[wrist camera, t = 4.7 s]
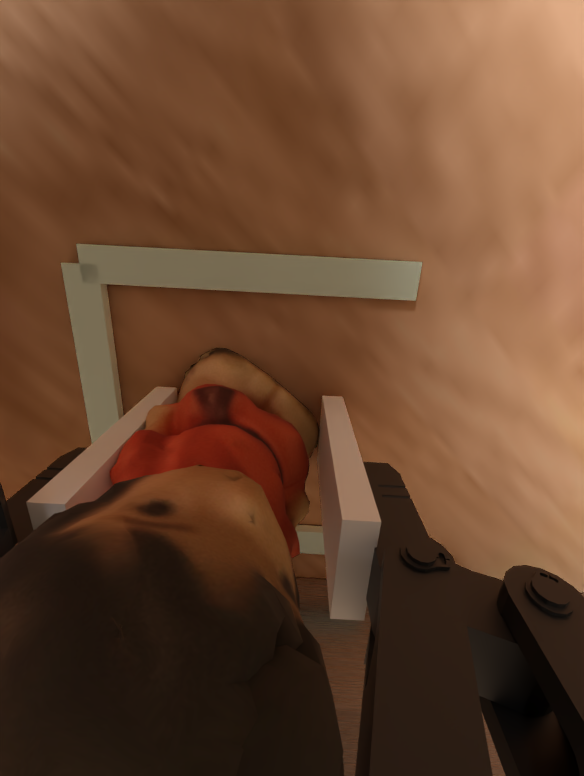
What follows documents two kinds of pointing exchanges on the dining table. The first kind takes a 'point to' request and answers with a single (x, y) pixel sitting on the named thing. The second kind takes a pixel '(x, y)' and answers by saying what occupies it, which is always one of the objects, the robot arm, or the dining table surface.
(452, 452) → the dining table surface
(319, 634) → the grey box with compartment
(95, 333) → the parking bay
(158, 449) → the figurine
